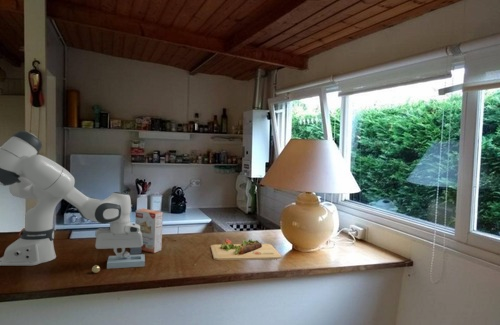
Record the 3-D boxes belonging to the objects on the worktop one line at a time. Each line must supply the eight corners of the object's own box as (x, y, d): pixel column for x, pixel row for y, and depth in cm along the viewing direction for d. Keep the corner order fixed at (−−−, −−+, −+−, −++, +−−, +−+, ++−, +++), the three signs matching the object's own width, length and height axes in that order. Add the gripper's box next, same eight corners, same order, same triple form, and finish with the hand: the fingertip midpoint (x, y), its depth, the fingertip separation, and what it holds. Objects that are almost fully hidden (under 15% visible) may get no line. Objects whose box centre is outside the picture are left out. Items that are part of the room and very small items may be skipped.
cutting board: (214, 261, 168) (214, 246, 168) (210, 247, 191) (210, 234, 191) (282, 260, 175) (283, 245, 175) (270, 247, 198) (271, 234, 197)
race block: (130, 254, 163) (130, 237, 163) (130, 250, 169) (131, 234, 169) (141, 253, 165) (141, 237, 165) (141, 249, 171) (141, 234, 170)
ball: (121, 253, 155) (129, 252, 156) (122, 251, 158) (129, 249, 159) (122, 260, 156) (130, 258, 156) (123, 258, 159) (130, 256, 159)
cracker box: (133, 248, 180) (135, 209, 179) (142, 246, 186) (143, 208, 185) (153, 253, 174) (155, 213, 173) (161, 250, 179) (163, 211, 178)
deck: (106, 268, 150) (107, 263, 150) (108, 261, 160) (108, 256, 160) (144, 266, 155) (144, 260, 155) (144, 259, 165) (144, 254, 165)
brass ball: (91, 274, 143) (91, 266, 143) (92, 271, 146) (92, 264, 146) (99, 273, 144) (99, 266, 144) (100, 271, 147) (100, 263, 147)
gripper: (94, 229, 149) (93, 260, 150) (143, 228, 156) (142, 258, 156) (96, 226, 155) (95, 256, 156) (143, 225, 162) (142, 254, 162)
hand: (119, 257), depth 156 cm, fingers closed
